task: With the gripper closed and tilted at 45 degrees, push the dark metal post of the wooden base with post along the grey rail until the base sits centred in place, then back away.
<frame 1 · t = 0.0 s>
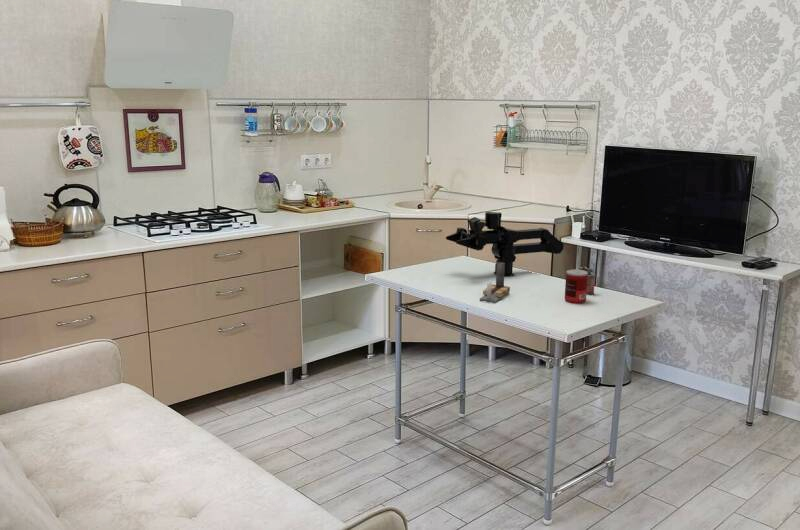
hand: (451, 240, 285), 17 cm above the table, tool horizontal, fingers open, 9 cm apart
canned food: (575, 301, 260), on the table
rail: (496, 296, 266), on the table
lighter: (584, 293, 271), on the table
wooden base with post: (497, 279, 264), point 7 cm above the table, slide at 0.0 cm
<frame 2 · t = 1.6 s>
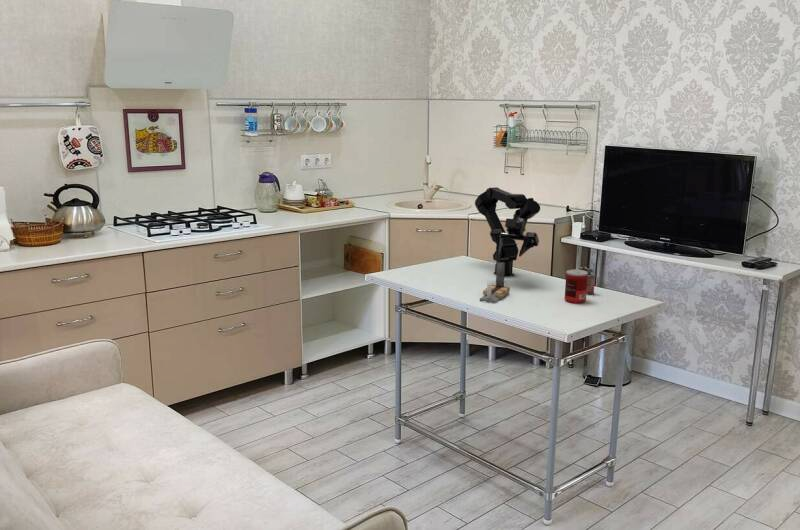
hand: (508, 254, 274), 13 cm above the table, tool tilted 45°, fingers open, 9 cm apart
nothing on the table moved.
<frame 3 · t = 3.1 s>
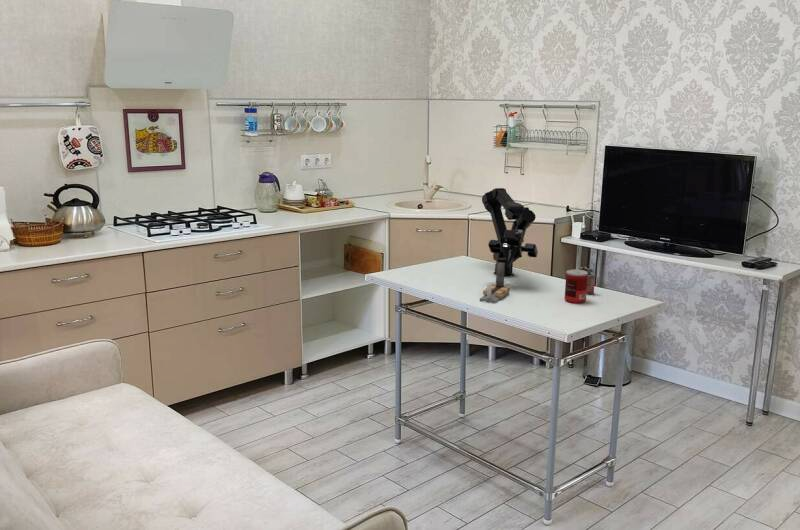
hand: (507, 266, 272), 9 cm above the table, tool tilted 45°, fingers closed
nothing on the table moved.
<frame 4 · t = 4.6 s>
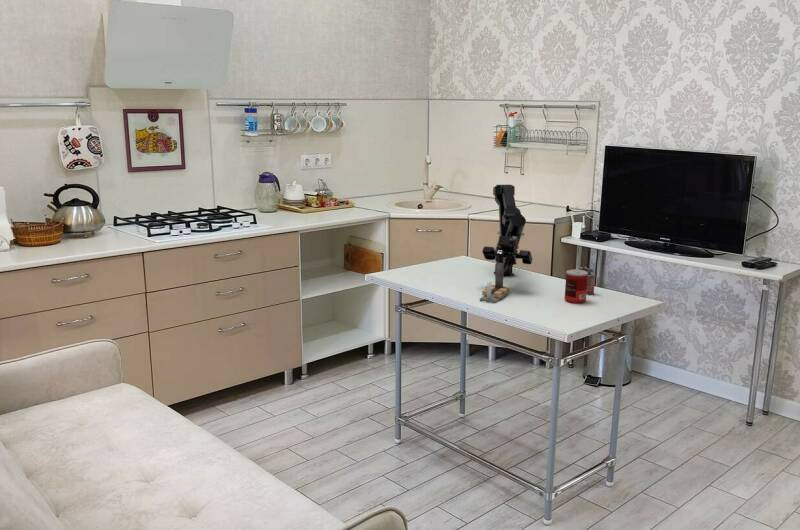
hand: (501, 273, 267), 8 cm above the table, tool tilted 45°, fingers closed
wooden base with post: (496, 279, 263), point 7 cm above the table, slide at 0.9 cm, touching gripper
everything else where it was.
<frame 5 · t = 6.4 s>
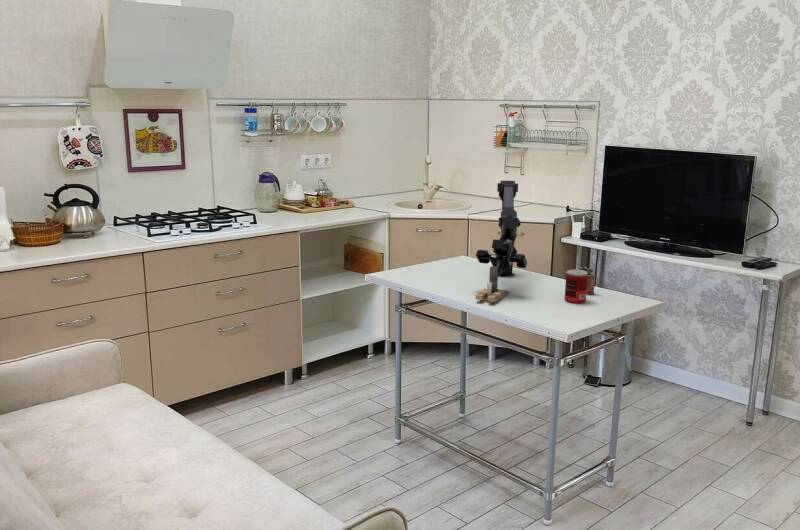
hand: (495, 277, 262), 8 cm above the table, tool tilted 45°, fingers closed, pressing on wooden base with post
wooden base with post: (490, 283, 258), point 7 cm above the table, slide at 7.3 cm, touching gripper
everything else where it was.
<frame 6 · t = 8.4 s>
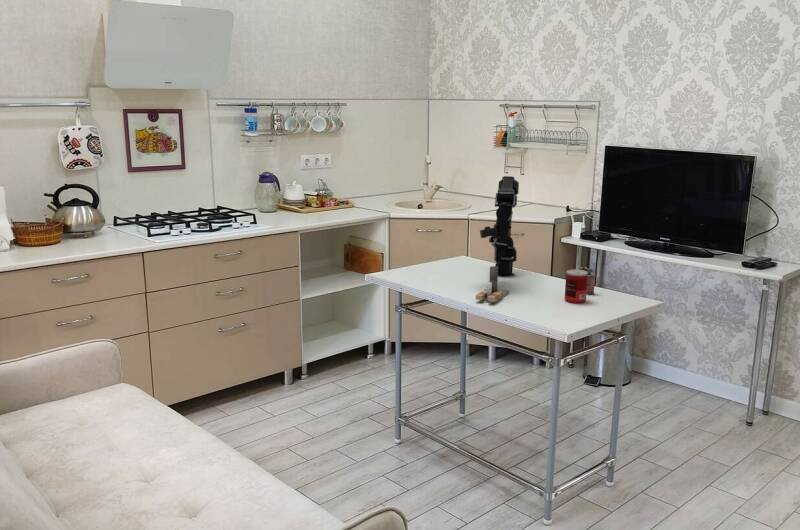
hand: (497, 262, 275), 10 cm above the table, tool pointing down, fingers closed
wooden base with post: (490, 283, 258), point 7 cm above the table, slide at 7.3 cm
everything else where it was.
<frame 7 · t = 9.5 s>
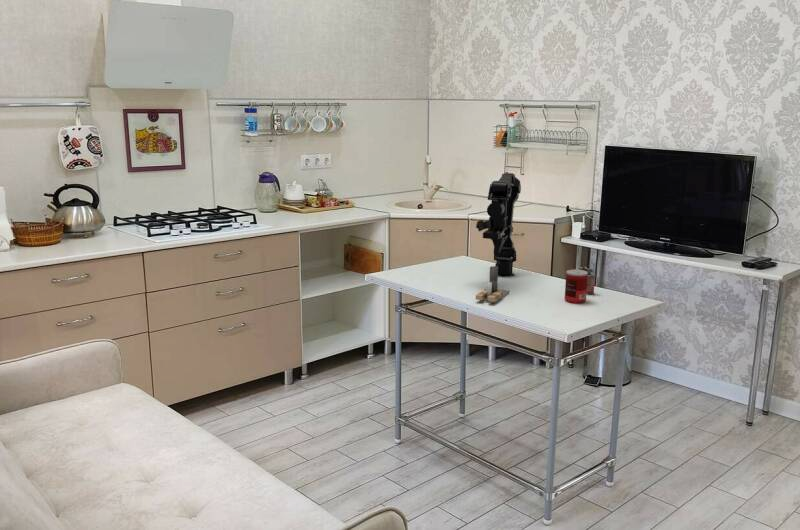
hand: (497, 253, 278), 13 cm above the table, tool pointing down, fingers closed
nothing on the table moved.
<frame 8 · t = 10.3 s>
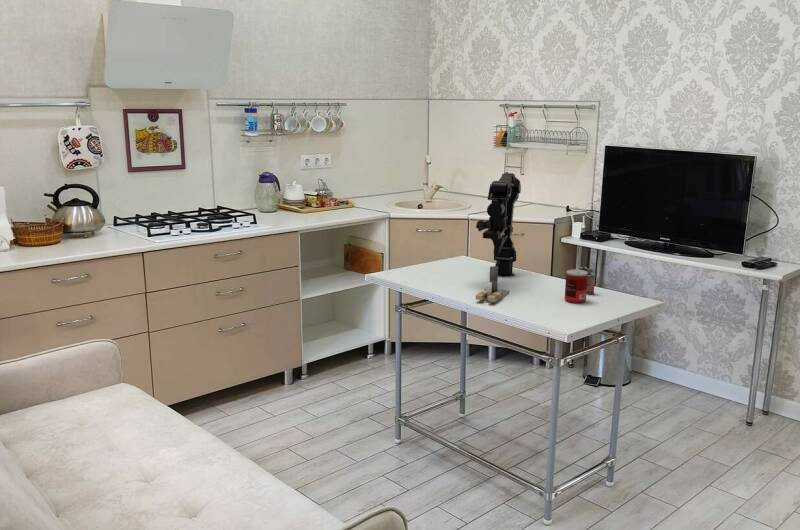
hand: (497, 253, 278), 13 cm above the table, tool pointing down, fingers closed
nothing on the table moved.
at the end: wooden base with post slide at 7.3 cm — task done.
